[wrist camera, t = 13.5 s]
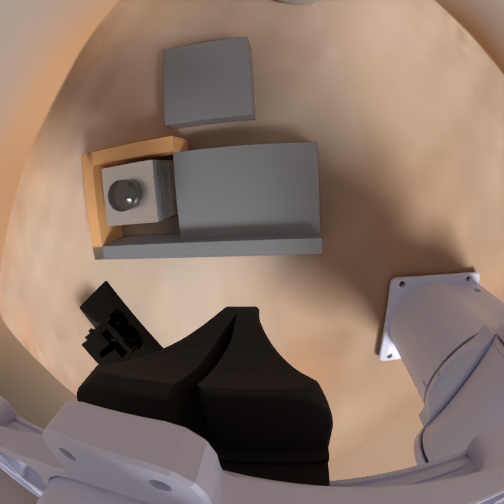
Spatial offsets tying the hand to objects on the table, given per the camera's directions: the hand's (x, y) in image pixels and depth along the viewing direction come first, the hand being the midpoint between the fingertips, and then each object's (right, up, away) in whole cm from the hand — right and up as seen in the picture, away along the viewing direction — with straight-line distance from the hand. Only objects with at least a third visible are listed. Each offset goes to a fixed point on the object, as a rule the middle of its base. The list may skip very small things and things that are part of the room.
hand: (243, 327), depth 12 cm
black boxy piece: (-12, -4, +14) cm, 19 cm away
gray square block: (-3, +15, +7) cm, 17 cm away
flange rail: (-3, +8, +9) cm, 12 cm away
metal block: (-7, +8, +9) cm, 14 cm away
